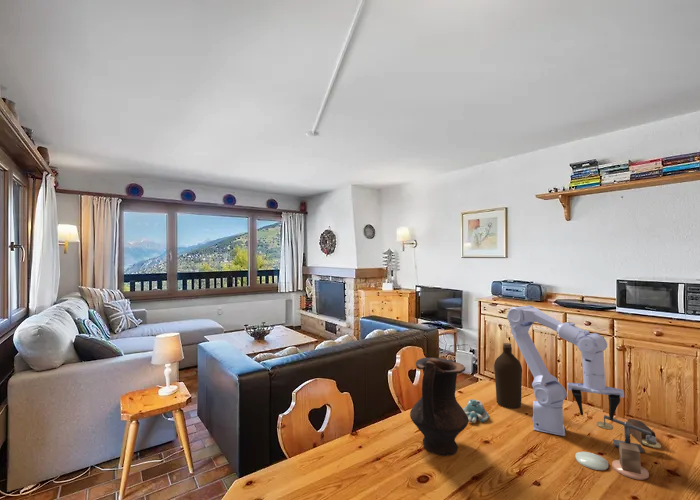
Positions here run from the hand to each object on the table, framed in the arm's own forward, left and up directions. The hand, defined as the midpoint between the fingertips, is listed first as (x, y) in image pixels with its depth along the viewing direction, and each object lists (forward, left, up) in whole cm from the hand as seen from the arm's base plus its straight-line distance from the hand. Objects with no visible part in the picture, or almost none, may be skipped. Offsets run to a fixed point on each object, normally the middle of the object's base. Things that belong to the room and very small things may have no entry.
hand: (596, 416), depth 108 cm
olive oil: (-27, +24, -11) cm, 38 cm away
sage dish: (-2, -9, -10) cm, 14 cm away
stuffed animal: (-38, +5, -11) cm, 40 cm away
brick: (+14, +15, -11) cm, 23 cm away
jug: (-44, -23, -11) cm, 51 cm away
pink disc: (+7, -9, -10) cm, 15 cm away
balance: (+9, +6, -10) cm, 15 cm away
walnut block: (+7, -9, -10) cm, 15 cm away
